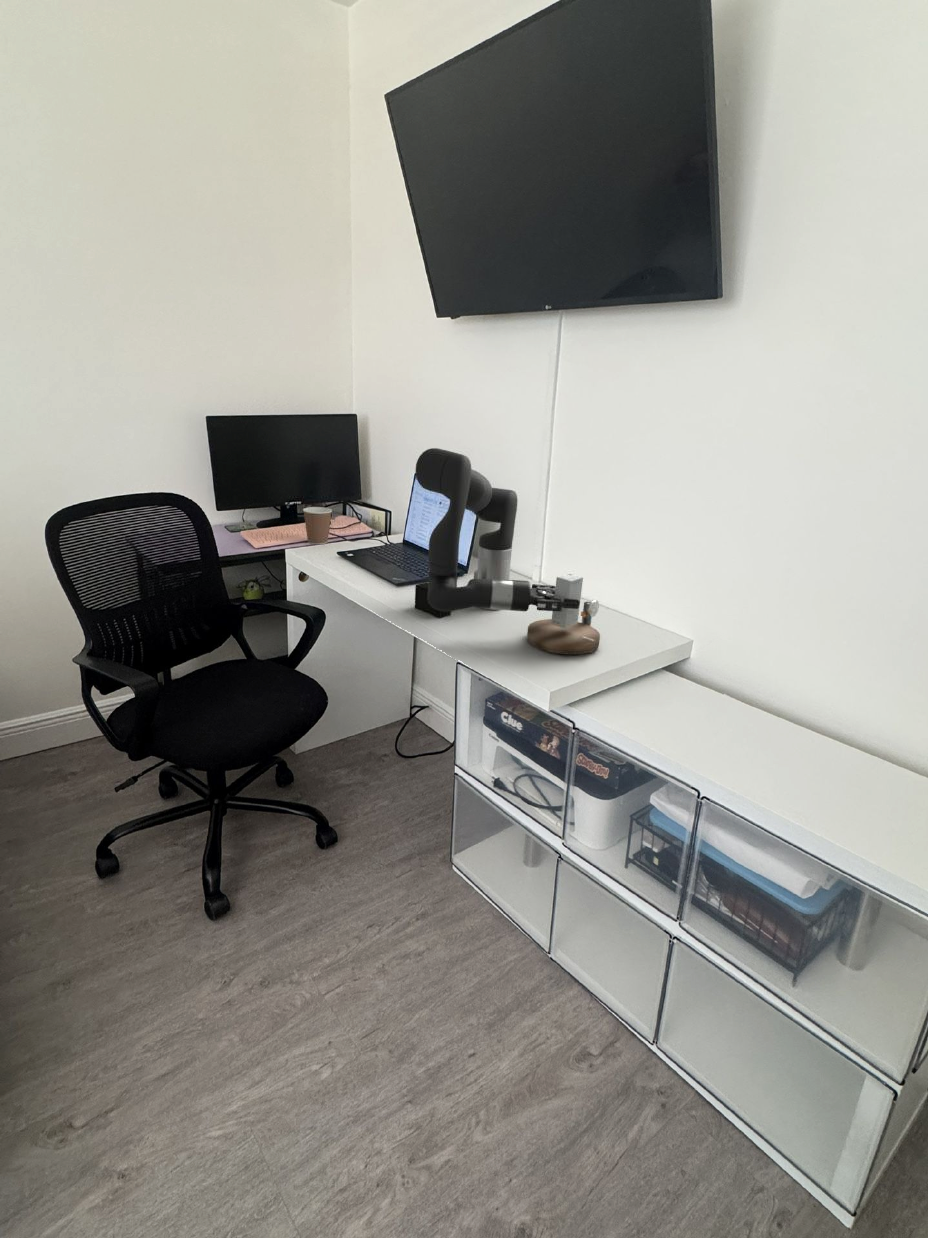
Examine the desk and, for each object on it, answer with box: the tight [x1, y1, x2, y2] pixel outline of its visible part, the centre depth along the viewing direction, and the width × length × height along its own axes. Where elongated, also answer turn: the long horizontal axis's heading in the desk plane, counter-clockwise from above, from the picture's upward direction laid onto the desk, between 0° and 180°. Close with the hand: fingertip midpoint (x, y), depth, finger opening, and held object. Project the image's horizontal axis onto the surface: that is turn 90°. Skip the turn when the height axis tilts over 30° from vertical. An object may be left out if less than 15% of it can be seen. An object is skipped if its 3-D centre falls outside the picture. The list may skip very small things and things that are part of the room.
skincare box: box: [551, 573, 584, 628], centre depth 172 cm, size 6×4×12 cm
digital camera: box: [414, 582, 452, 619], centre depth 191 cm, size 10×5×7 cm, turn 44°
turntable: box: [526, 618, 601, 655], centre depth 175 cm, size 18×18×2 cm
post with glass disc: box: [580, 599, 600, 627], centre depth 183 cm, size 5×3×9 cm, turn 141°
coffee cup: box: [302, 506, 333, 545], centre depth 255 cm, size 10×10×12 cm
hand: (576, 599), depth 172 cm, fingers closed on skincare box, 7 cm apart
